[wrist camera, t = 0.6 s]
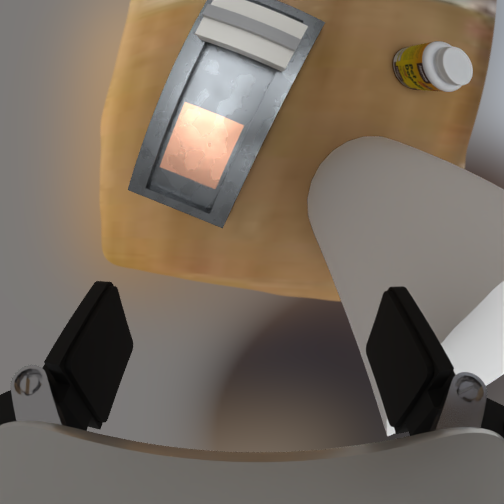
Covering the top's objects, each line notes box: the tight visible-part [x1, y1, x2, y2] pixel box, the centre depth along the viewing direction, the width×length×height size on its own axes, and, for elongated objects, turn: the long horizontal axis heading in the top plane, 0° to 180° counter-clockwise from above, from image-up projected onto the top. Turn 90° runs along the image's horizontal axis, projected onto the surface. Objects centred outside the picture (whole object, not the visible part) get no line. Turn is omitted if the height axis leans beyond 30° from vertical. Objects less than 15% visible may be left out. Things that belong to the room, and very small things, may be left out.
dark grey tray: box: [128, 0, 325, 228], centre depth 30 cm, size 26×12×3 cm, turn 155°
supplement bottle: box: [393, 41, 473, 92], centre depth 24 cm, size 6×6×10 cm
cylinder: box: [307, 136, 504, 436], centre depth 24 cm, size 17×17×28 cm
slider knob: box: [195, 0, 308, 72], centre depth 23 cm, size 5×9×6 cm, turn 65°
